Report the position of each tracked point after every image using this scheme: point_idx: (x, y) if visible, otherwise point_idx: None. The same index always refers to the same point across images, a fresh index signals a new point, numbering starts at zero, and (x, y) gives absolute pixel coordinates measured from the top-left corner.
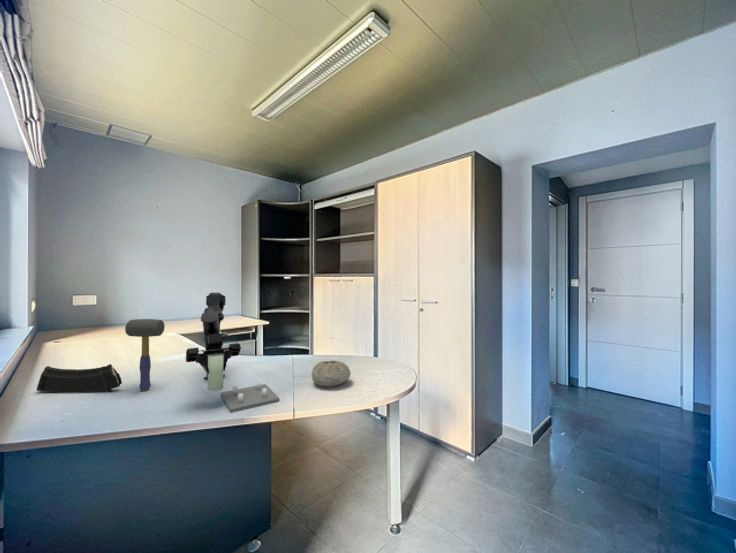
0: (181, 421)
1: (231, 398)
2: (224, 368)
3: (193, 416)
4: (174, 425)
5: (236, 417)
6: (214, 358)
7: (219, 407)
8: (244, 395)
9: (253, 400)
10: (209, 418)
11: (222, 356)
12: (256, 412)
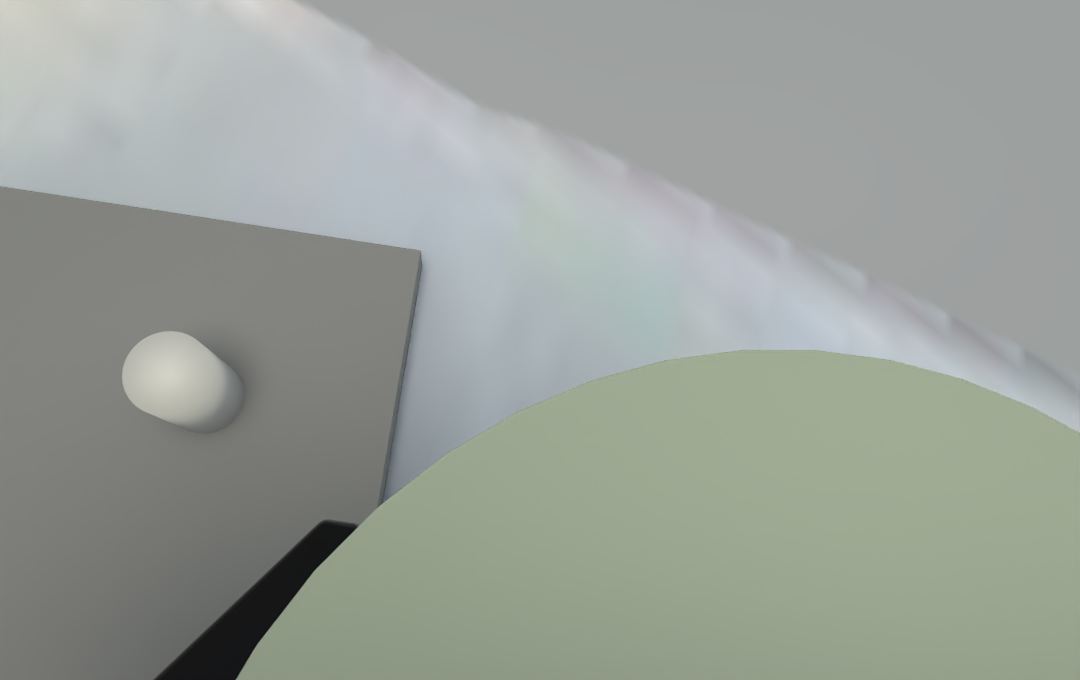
0: None
1: None
2: (330, 544)
3: None
4: (1019, 364)
5: (414, 99)
6: (989, 434)
7: None
8: (31, 615)
9: (31, 322)
10: (671, 280)
11: (371, 525)
12: (169, 62)
